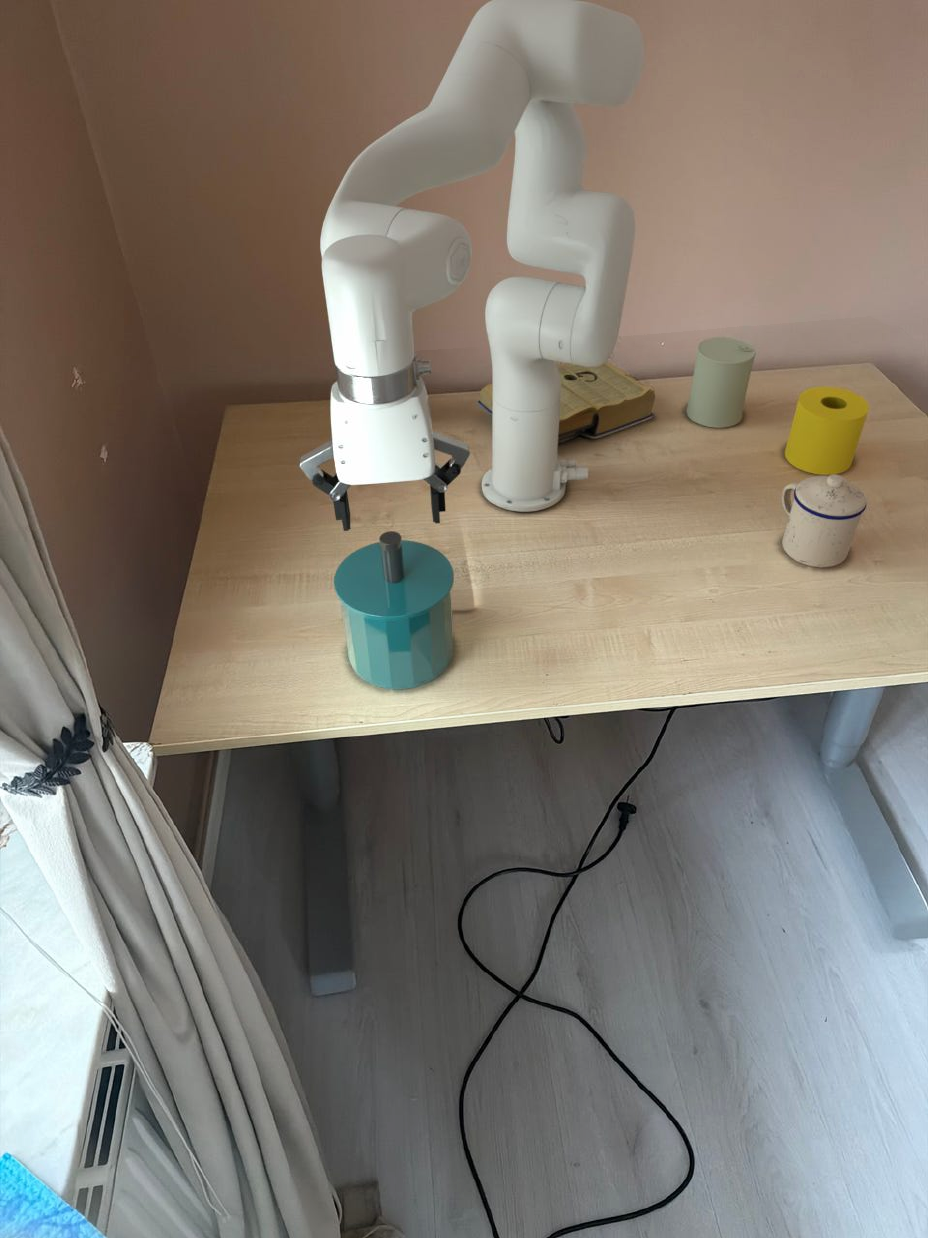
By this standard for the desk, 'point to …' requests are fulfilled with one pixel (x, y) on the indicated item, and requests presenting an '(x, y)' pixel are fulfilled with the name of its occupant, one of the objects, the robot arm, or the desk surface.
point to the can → (720, 381)
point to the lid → (393, 579)
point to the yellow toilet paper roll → (826, 430)
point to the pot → (400, 647)
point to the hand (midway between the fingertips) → (391, 519)
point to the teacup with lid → (821, 519)
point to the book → (594, 401)
